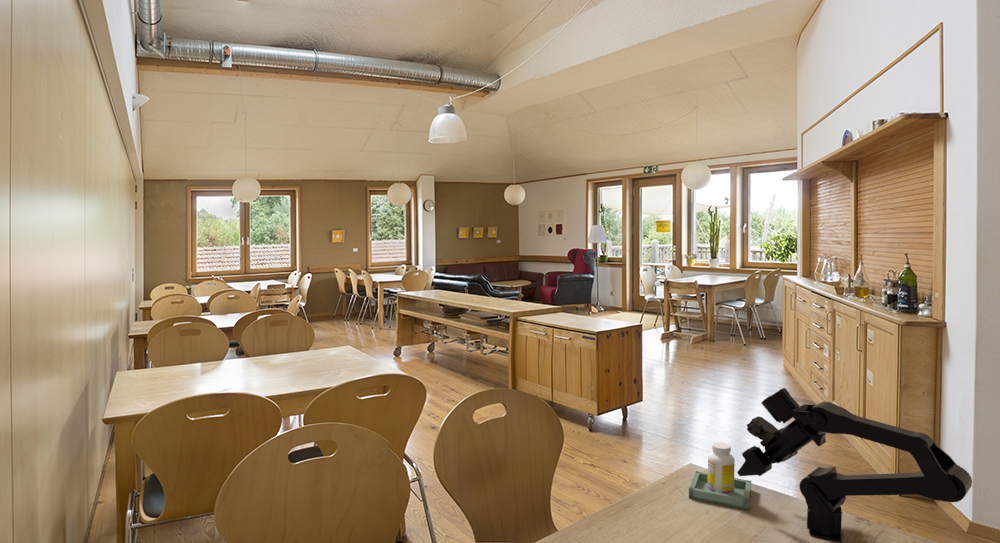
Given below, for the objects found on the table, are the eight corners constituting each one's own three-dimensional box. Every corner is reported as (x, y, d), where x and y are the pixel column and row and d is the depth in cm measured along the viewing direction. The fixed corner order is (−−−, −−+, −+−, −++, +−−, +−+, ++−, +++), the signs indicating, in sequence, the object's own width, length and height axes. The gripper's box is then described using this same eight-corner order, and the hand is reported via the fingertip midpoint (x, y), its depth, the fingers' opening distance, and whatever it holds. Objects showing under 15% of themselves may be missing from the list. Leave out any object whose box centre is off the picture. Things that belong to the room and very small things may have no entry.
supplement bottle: (736, 490, 154) (737, 444, 153) (730, 500, 149) (731, 452, 148) (711, 484, 158) (712, 438, 157) (704, 493, 152) (705, 446, 151)
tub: (751, 489, 156) (751, 480, 156) (747, 509, 145) (748, 500, 145) (695, 479, 162) (696, 471, 162) (688, 498, 151) (688, 488, 151)
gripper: (785, 402, 148) (744, 433, 157) (750, 417, 136) (707, 450, 145) (817, 439, 143) (772, 470, 152) (783, 459, 131) (737, 491, 140)
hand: (747, 469), depth 147 cm, fingers open, 9 cm apart
